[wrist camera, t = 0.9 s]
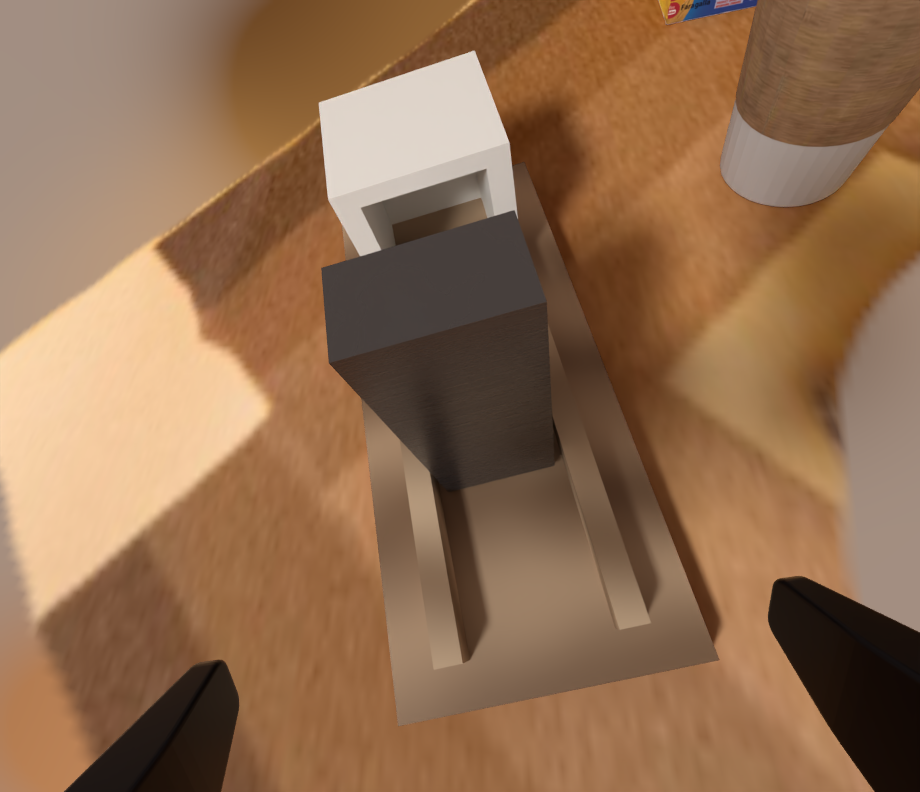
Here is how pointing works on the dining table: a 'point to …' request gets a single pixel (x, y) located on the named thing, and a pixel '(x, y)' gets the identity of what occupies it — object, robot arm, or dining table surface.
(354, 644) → the dining table surface
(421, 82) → the socket
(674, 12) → the beverage box
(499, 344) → the dark grey rectangular block
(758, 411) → the dining table surface
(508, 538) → the rail
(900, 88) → the coffee cup
